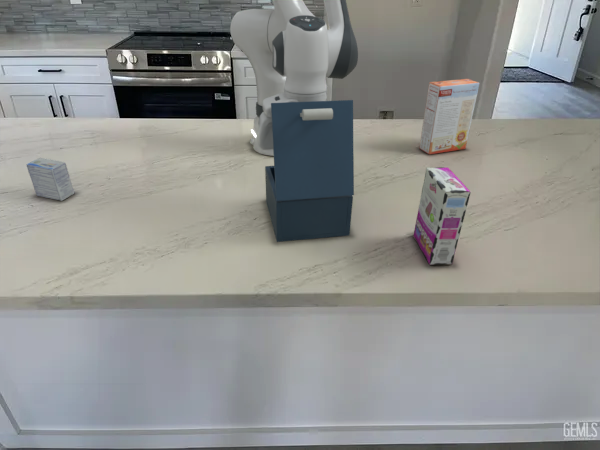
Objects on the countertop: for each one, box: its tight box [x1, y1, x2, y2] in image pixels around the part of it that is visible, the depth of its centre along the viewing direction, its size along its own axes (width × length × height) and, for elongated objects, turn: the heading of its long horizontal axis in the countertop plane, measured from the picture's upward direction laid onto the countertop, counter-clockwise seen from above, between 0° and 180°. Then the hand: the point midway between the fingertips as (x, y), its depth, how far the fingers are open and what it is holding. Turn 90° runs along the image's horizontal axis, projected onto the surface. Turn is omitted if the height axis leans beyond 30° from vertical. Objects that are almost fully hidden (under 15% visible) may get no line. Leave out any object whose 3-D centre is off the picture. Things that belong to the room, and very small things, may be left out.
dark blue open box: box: [264, 165, 354, 243], centre depth 100 cm, size 18×16×10 cm
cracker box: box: [419, 78, 480, 155], centre depth 134 cm, size 14×6×21 cm, turn 111°
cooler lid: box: [271, 99, 355, 201], centre depth 85 cm, size 19×16×5 cm
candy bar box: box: [412, 166, 472, 266], centre depth 88 cm, size 11×5×16 cm, turn 5°
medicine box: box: [26, 157, 75, 202], centre depth 107 cm, size 8×4×9 cm, turn 71°
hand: (303, 164), depth 99 cm, fingers closed on shot glass, 5 cm apart
